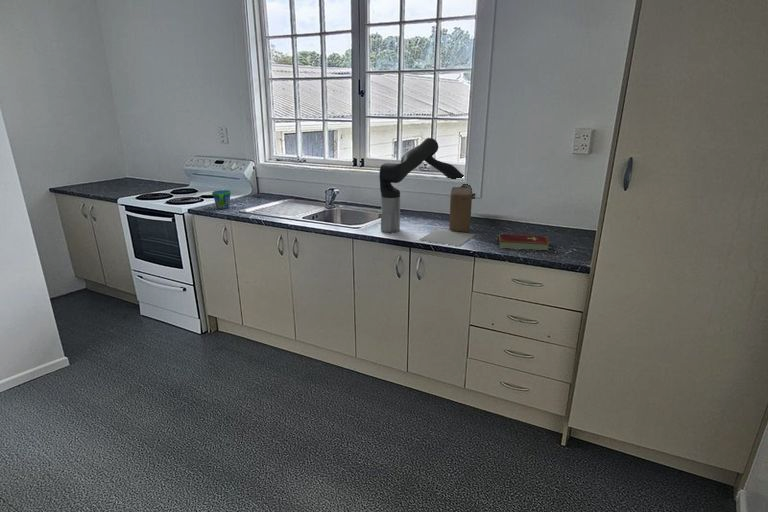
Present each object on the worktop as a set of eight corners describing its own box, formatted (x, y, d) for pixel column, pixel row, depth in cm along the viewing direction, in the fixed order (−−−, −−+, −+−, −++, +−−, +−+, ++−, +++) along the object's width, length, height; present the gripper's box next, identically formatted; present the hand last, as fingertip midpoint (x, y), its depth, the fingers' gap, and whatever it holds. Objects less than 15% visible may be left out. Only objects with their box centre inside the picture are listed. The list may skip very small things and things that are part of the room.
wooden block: (469, 232, 224) (471, 195, 213) (449, 231, 225) (450, 194, 215) (470, 223, 232) (472, 187, 222) (450, 222, 234) (451, 186, 224)
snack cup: (230, 210, 270) (228, 193, 267) (212, 211, 268) (209, 194, 265) (234, 205, 284) (232, 189, 281) (216, 205, 283) (214, 189, 279)
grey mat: (459, 246, 202) (459, 246, 202) (418, 240, 211) (418, 239, 211) (474, 235, 219) (474, 234, 219) (436, 230, 228) (436, 229, 228)
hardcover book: (498, 241, 211) (498, 233, 209) (545, 244, 207) (546, 235, 205) (498, 249, 200) (499, 240, 198) (548, 252, 196) (550, 243, 194)
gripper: (452, 185, 242) (448, 190, 226) (477, 186, 239) (475, 191, 223) (451, 199, 245) (448, 205, 229) (476, 200, 242) (474, 206, 226)
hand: (461, 198), depth 226 cm, fingers closed
